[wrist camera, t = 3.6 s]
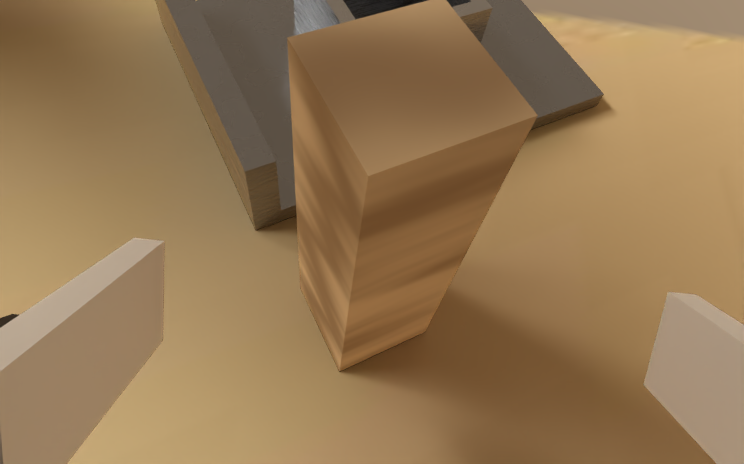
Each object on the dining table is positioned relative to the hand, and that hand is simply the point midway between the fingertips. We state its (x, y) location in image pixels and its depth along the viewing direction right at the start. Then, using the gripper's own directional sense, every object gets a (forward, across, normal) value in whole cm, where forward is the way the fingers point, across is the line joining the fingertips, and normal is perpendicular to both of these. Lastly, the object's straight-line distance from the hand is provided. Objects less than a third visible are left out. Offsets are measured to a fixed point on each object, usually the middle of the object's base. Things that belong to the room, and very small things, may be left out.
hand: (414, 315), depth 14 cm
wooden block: (+11, -1, -5) cm, 12 cm away
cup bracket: (+22, -1, +7) cm, 23 cm away
